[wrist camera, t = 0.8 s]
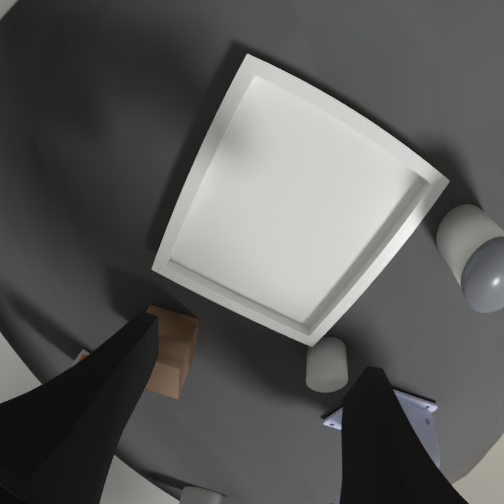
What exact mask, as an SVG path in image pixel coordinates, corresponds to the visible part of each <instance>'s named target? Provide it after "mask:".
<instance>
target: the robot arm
mask: <svg viewBox="0 0 504 504" xmlns="http://www.w3.org/2000/svg"><path fill="white" fill-rule="evenodd" d="M158 355H159V316H156V315H153V314H150V313H147V312H144V311H141V312H139V313H138V314H137V315H136V316H134V317H133V318H132V319H131V320H130V321H129V322H128V323H127V324H126V325H124V326H123V327H122V328H121V329H120V330H119V331H117V332H116V333H115V334H114V335H113V336H112V337H110V338H109V339H108V340H107V341H105V342H104V343H103V344H102V345H100V346H99V347H98V348H97V349H95V350H94V351H93V352H92V353H90V354H89V355H87V356H86V357H85V358H83V359H82V360H80V361H79V362H78V363H76V364H75V365H74V366H72V367H71V368H69V369H68V370H66V371H64V372H63V373H61V374H60V375H58V376H56V377H55V378H53V379H51V380H50V381H48V382H46V383H44V384H42V385H40V386H39V387H37V388H35V389H33V390H31V391H29V392H27V393H25V394H23V395H20V396H18V397H15V398H13V399H11V400H8V401H6V402H3V403H1V404H0V504H99V503H100V499H101V495H102V492H103V487H104V484H105V481H106V477H107V474H108V471H109V468H110V465H111V462H112V459H113V456H114V453H115V450H116V448H117V445H118V442H119V439H120V437H121V434H122V432H123V430H124V428H125V426H126V424H127V422H128V420H129V418H130V416H131V414H132V412H133V410H134V408H135V406H136V404H137V402H138V400H139V398H140V397H141V395H142V393H143V391H144V389H145V387H146V385H147V383H148V381H149V379H150V376H151V374H152V371H153V369H154V366H155V363H156V360H157V358H158ZM437 408H438V406H437V404H435V403H432V402H429V401H426V400H423V399H420V398H417V397H415V396H412V395H409V394H406V393H403V392H400V391H397V390H395V389H393V388H392V386H391V384H390V382H389V380H388V378H387V376H386V374H385V373H384V371H383V369H382V368H376V367H369V366H367V367H366V369H365V370H364V371H363V373H362V374H361V376H360V377H359V378H358V380H357V381H356V382H355V384H354V385H353V386H352V388H351V389H350V390H349V392H348V393H347V394H346V396H345V397H344V400H343V407H342V408H340V409H339V410H337V411H336V412H334V413H333V414H332V415H330V416H329V417H327V418H326V419H324V420H323V424H324V425H326V426H330V427H333V428H337V429H340V430H341V434H342V464H341V493H340V494H335V495H334V503H330V504H468V502H467V501H465V499H464V498H462V496H460V494H459V493H458V492H457V491H456V490H455V489H454V488H453V487H452V485H451V484H450V483H449V482H448V480H447V479H446V478H445V477H444V475H443V474H442V473H441V471H440V470H439V464H440V454H439V448H438V442H437V437H436V432H435V426H434V421H433V417H432V412H433V411H435V410H436V409H437Z"/></svg>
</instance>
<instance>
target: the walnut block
mask: <svg viewBox="0 0 504 504" xmlns="http://www.w3.org/2000/svg"><path fill="white" fill-rule="evenodd" d="M146 312H147V313H150V314H153V315H156V316H159V355H158V358H157V360H156V363H155V366H154V369H153V371H152V374H151V376H150V379H149V381H148V383H147V385H146V387H145V389H148V390H151V391H154V392H157V393H160V394H163V395H166V396H169V397H172V398H176V399H178V398H179V395H180V392H181V390H182V387H183V384H184V381H185V379H186V376H187V373H188V370H189V368H190V365H191V362H192V360H193V357H194V354H195V351H196V343H197V335H198V327H199V320H200V319H197V318H194V317H190V316H187V315H183V314H180V313H177V312H173V311H170V310H167V309H163V308H160V307H157V306H154V305H151V304H150V306H149V308H148V309H147V311H146Z"/></svg>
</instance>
